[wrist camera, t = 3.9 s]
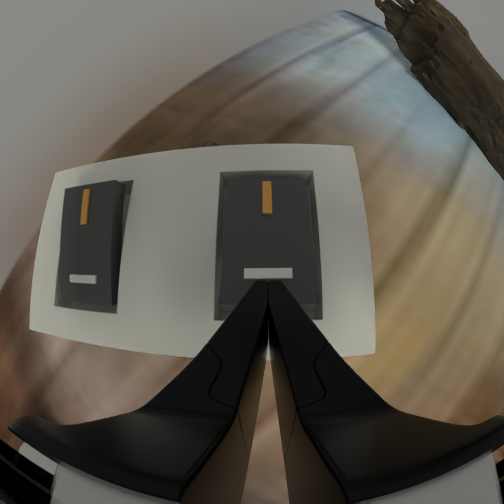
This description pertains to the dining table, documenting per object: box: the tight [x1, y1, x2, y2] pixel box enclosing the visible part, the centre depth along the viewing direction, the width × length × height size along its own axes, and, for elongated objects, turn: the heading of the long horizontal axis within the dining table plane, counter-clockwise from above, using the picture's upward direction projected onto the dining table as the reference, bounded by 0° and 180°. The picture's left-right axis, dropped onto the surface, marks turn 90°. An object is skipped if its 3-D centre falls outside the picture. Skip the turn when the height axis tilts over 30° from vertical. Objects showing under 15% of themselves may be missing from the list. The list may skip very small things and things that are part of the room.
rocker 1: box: [60, 180, 125, 306], centre depth 12 cm, size 6×4×1 cm, turn 0°
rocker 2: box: [219, 178, 318, 312], centre depth 11 cm, size 6×4×1 cm, turn 179°
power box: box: [30, 142, 375, 360], centre depth 16 cm, size 15×18×7 cm
